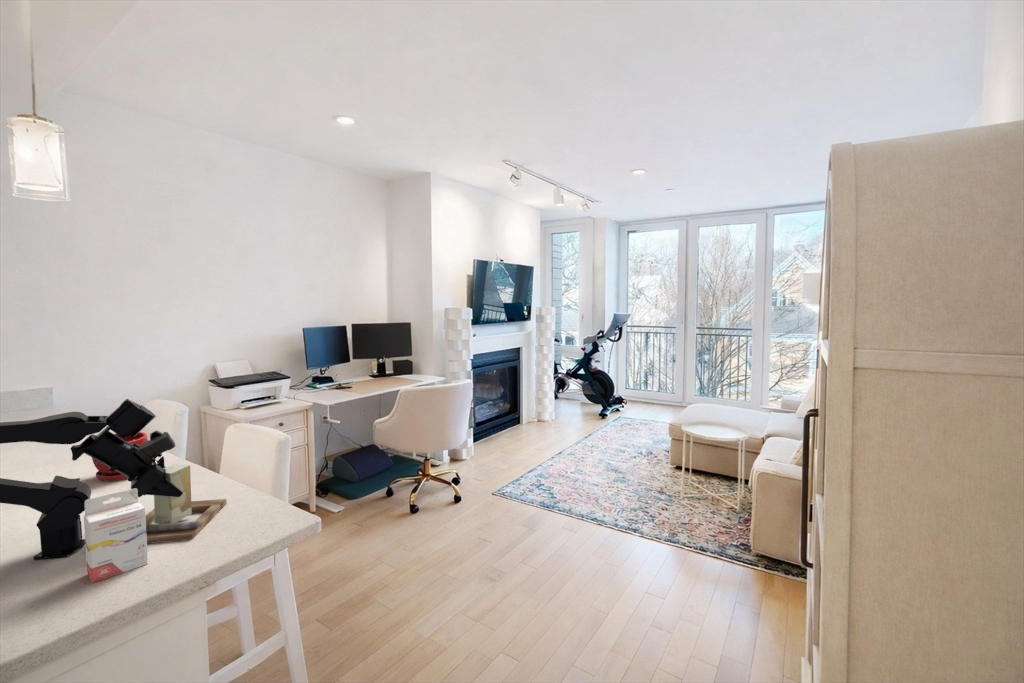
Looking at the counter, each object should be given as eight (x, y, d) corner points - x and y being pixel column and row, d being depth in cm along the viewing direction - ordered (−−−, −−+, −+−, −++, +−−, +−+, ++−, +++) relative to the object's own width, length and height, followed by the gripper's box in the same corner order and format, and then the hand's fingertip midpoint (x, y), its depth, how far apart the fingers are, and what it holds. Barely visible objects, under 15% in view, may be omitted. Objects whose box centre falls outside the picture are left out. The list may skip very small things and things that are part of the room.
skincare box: (171, 525, 105) (169, 473, 104) (154, 524, 105) (151, 473, 104) (193, 512, 111) (191, 463, 110) (176, 511, 112) (174, 463, 111)
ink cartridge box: (91, 584, 85) (85, 507, 84) (86, 574, 88) (81, 500, 87) (149, 564, 92) (144, 492, 90) (142, 555, 95) (138, 486, 93)
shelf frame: (192, 539, 101) (191, 526, 101) (114, 545, 98) (113, 533, 98) (226, 504, 119) (226, 493, 119) (161, 509, 116) (160, 498, 116)
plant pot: (81, 482, 134) (77, 441, 133) (128, 466, 147) (125, 429, 146) (115, 486, 131) (112, 445, 130) (160, 470, 144) (158, 432, 143)
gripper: (148, 432, 97) (212, 472, 105) (147, 416, 111) (204, 452, 119) (100, 477, 93) (171, 515, 100) (106, 454, 107) (167, 488, 115)
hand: (180, 489), depth 109 cm, fingers closed on skincare box, 7 cm apart
